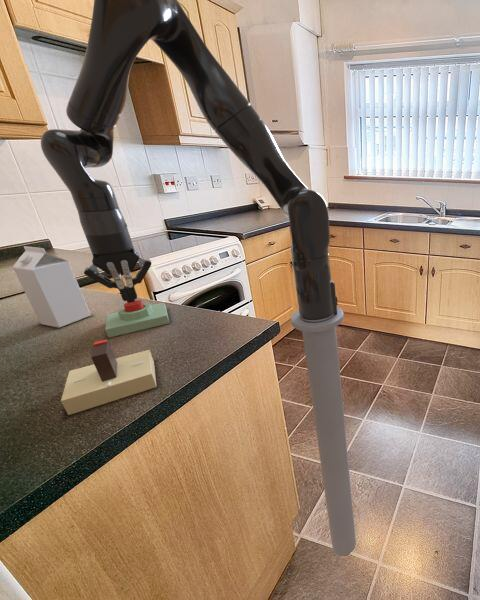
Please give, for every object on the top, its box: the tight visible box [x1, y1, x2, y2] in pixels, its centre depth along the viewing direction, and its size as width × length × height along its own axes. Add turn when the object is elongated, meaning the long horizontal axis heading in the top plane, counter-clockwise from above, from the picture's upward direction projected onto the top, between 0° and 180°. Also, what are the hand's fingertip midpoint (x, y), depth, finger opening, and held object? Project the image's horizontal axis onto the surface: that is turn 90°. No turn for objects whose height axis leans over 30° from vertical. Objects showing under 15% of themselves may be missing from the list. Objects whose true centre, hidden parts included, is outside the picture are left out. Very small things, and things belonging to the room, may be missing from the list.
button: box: [123, 299, 144, 312], centre depth 82 cm, size 4×4×2 cm
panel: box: [60, 349, 157, 416], centre depth 61 cm, size 12×10×3 cm
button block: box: [104, 302, 170, 339], centre depth 83 cm, size 12×10×4 cm
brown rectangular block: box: [90, 339, 117, 381], centre depth 59 cm, size 6×2×5 cm, turn 36°
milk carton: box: [12, 245, 92, 328], centre depth 82 cm, size 7×7×19 cm
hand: (131, 301), depth 82 cm, fingers closed
